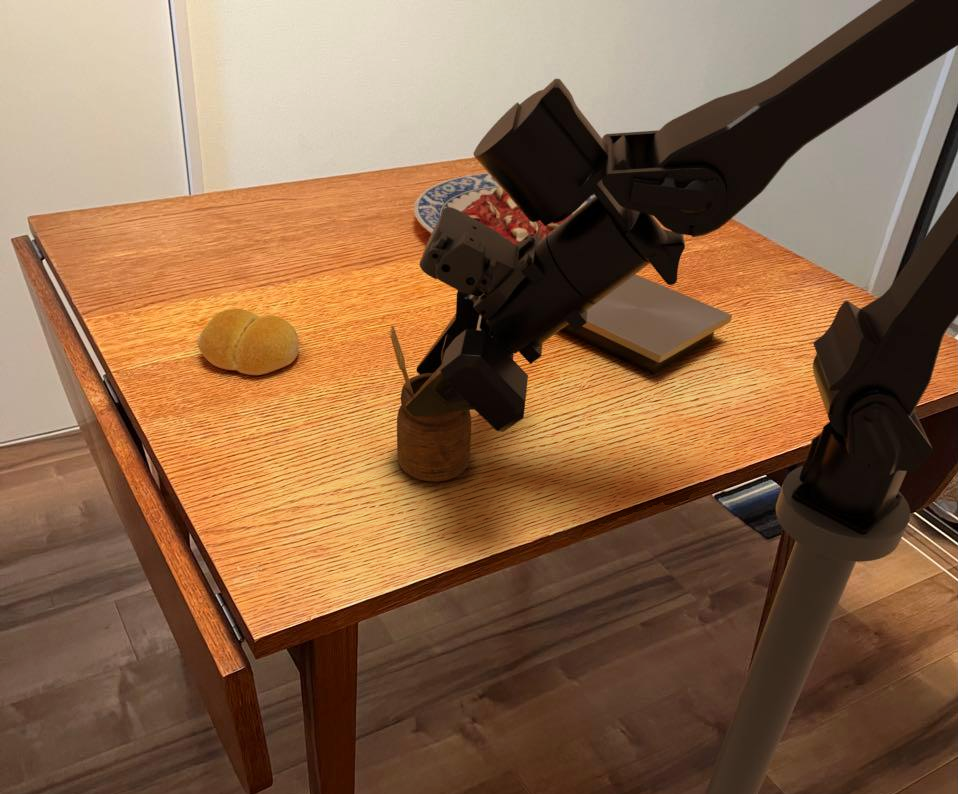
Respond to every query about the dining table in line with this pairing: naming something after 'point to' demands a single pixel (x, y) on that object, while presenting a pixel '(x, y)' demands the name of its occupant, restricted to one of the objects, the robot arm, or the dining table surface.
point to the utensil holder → (430, 433)
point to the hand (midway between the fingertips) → (415, 391)
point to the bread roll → (248, 342)
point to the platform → (649, 325)
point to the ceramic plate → (480, 207)
